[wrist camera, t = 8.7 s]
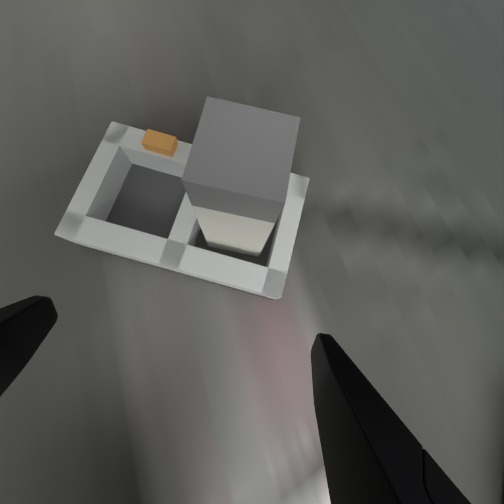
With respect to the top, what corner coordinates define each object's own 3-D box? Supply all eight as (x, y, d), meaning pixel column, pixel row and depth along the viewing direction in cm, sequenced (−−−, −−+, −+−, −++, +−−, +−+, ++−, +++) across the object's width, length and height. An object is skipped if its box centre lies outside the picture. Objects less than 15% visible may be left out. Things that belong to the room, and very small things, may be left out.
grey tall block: (258, 257, 21) (285, 202, 10) (208, 246, 21) (181, 180, 10) (267, 210, 22) (300, 117, 11) (220, 200, 22) (207, 95, 11)
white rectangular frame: (273, 299, 21) (283, 298, 17) (83, 246, 21) (45, 231, 17) (298, 196, 23) (312, 172, 19) (129, 148, 23) (106, 113, 19)
